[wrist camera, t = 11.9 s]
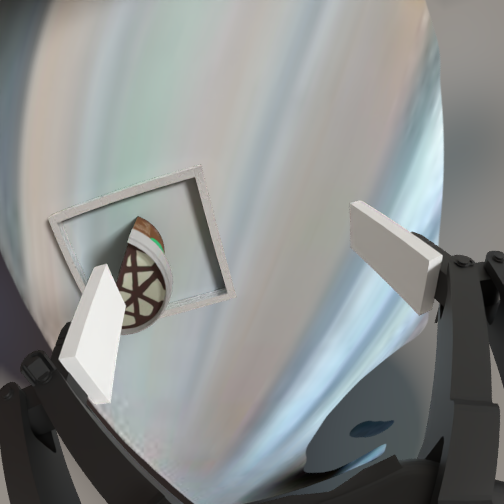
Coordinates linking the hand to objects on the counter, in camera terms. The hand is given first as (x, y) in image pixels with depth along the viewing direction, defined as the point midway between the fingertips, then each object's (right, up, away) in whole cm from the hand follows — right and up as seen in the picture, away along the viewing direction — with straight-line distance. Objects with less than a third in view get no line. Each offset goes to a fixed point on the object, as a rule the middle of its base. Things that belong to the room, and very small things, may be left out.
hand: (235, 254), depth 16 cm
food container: (-12, 0, +22) cm, 26 cm away
